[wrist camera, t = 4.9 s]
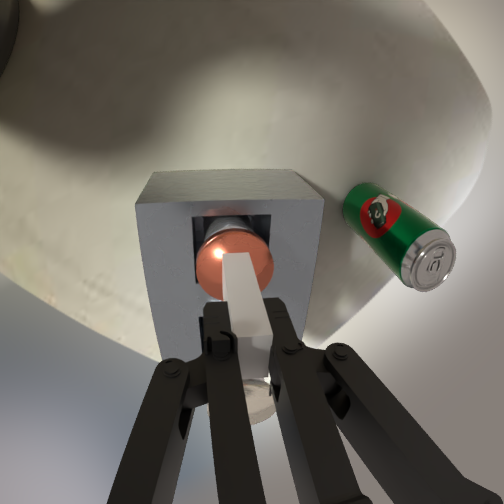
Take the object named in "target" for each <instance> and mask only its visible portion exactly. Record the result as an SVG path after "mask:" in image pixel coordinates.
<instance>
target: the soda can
mask: <svg viewBox="0 0 504 504" xmlns="http://www.w3.org/2000/svg"><path fill="white" fill-rule="evenodd" d="M343 216H344V219H345V221H346V223H347V224H348V225H349V226H350V227H351V228H352V229H353V230H354V231H355V232H356V233H357V234H358V235H359V236H360V237H361V238H362V239H363V241H364V242H365V243H366V244H367V245H368V246H369V247H370V248H371V249H372V250H373V251H374V252H375V253H376V254H377V255H378V256H379V257H380V258H381V259H382V261H383V262H384V263H385V264H386V265H387V266H388V267H389V268H390V269H391V270H392V271H393V273H394V274H395V275H396V276H397V277H398V278H399V279H400V280H401V281H402V282H403V284H404V285H406V286H407V287H410V288H415V289H416V290H418V291H420V292H427V291H430V290H433V289H435V288H436V287H438V286H439V285H440V284H441V283H443V282H444V281H445V279H446V278H447V277H448V275H449V274H450V272H451V271H452V269H453V266H454V263H455V259H456V249H455V246H454V244H453V243H452V242H451V239H450V236H449V235H448V233H447V232H446V231H445V230H444V229H442V228H441V227H440V226H438V225H437V224H435V223H434V222H433V221H431V220H430V219H428V218H427V217H426V216H424V215H423V214H421V213H420V212H418V211H417V210H415V209H414V208H413V207H411V206H410V205H408V204H407V203H405V202H404V201H402V200H401V199H399V198H397V197H396V196H394V195H393V194H391V193H390V192H388V191H387V190H385V189H383V188H382V187H380V186H379V185H377V184H374V183H362V184H360V185H358V186H356V187H355V188H353V189H352V190H351V191H350V192H349V194H348V195H347V197H346V199H345V201H344V205H343Z"/></svg>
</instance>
